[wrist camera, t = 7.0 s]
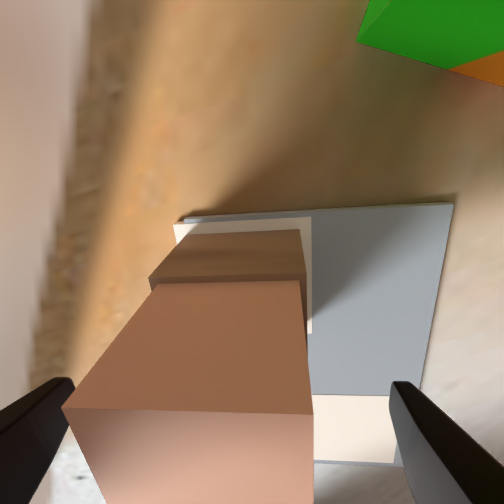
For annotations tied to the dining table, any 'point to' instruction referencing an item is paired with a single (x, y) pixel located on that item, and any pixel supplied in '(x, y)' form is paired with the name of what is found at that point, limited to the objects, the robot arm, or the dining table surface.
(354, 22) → the dining table surface
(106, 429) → the terracotta block
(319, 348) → the board
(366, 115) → the dining table surface
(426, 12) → the puzzle toy
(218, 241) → the block
